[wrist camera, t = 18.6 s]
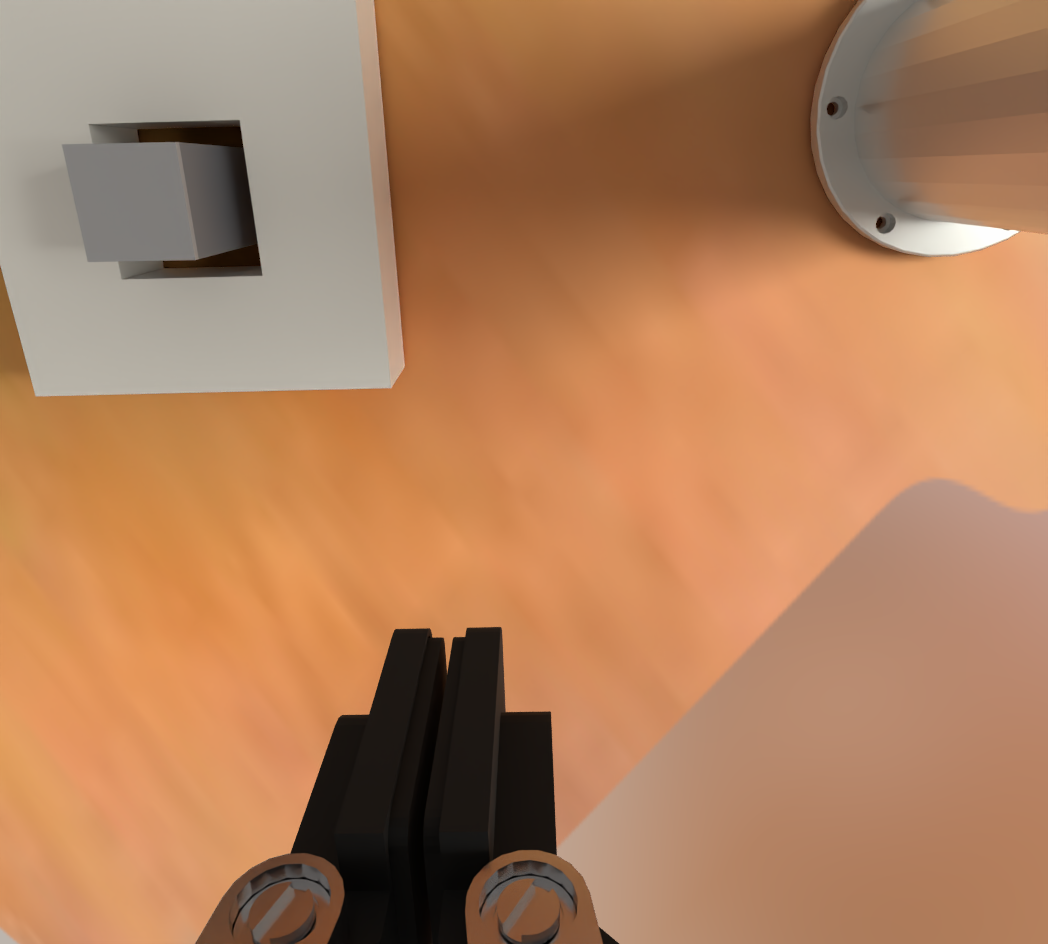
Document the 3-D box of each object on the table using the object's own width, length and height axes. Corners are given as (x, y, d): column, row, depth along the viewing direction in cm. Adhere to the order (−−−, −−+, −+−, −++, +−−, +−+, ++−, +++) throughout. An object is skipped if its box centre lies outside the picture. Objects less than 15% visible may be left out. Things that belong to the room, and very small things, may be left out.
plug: (252, 148, 34) (175, 141, 27) (265, 241, 36) (195, 259, 28) (163, 150, 34) (61, 144, 27) (180, 243, 36) (87, 262, 28)
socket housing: (372, -10, 32) (352, -34, 28) (404, 366, 38) (391, 388, 34) (-7, 2, 32) (-77, -20, 28) (84, 374, 38) (35, 396, 34)
